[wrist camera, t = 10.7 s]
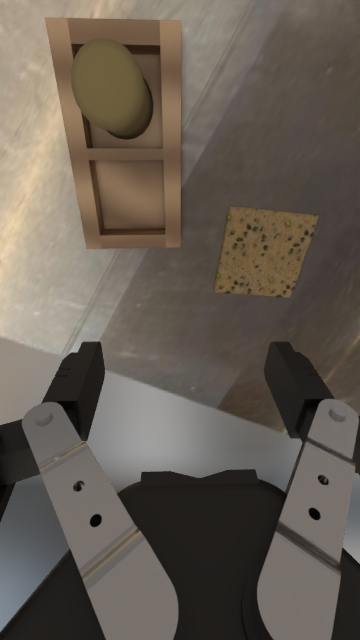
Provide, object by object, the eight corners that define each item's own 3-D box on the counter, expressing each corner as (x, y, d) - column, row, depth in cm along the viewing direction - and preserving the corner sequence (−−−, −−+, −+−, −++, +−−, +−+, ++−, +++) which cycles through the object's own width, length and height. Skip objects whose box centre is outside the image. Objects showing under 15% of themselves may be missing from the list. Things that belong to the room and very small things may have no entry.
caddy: (58, 32, 25) (44, 17, 22) (178, 34, 26) (180, 20, 23) (93, 240, 36) (86, 248, 33) (178, 238, 36) (180, 247, 33)
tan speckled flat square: (319, 213, 36) (323, 214, 35) (289, 296, 42) (292, 299, 41) (228, 203, 35) (230, 204, 34) (212, 291, 41) (213, 294, 40)
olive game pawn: (97, 53, 26) (61, 2, 17) (160, 78, 27) (159, 43, 18) (89, 128, 29) (55, 120, 20) (146, 148, 30) (139, 149, 21)
